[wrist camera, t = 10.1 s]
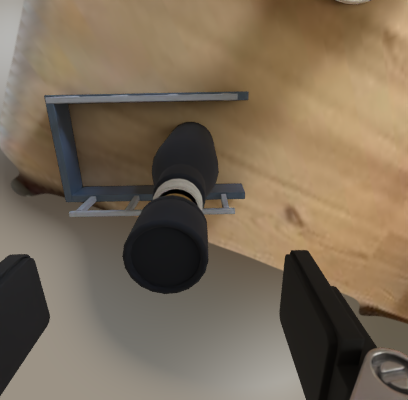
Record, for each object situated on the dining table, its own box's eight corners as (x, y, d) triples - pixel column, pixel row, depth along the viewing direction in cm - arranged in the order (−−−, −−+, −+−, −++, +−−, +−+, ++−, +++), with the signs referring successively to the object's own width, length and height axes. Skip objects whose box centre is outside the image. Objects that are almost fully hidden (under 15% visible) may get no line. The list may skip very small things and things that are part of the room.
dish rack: (244, 91, 38) (256, 91, 29) (241, 189, 43) (251, 215, 34) (59, 95, 38) (15, 95, 29) (77, 192, 43) (44, 219, 34)
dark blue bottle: (217, 160, 41) (249, 301, 13) (175, 171, 42) (122, 328, 14) (207, 116, 39) (218, 175, 11) (163, 128, 40) (68, 212, 12)
